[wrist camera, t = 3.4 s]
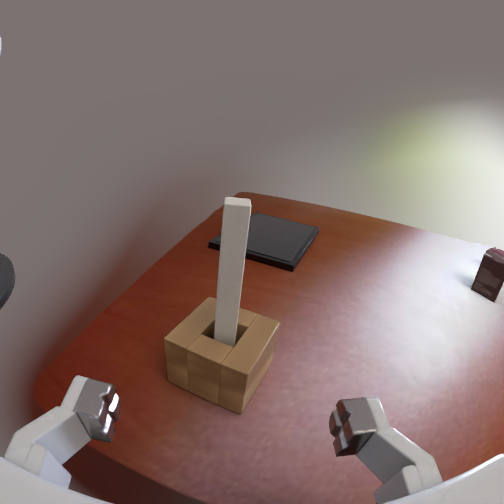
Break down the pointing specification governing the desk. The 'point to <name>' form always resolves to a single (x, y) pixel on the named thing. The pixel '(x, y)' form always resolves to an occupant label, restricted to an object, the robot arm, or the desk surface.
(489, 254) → the box
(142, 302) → the desk surface
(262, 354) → the pen stand
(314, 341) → the desk surface
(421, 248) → the desk surface
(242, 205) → the white square bar
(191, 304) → the desk surface
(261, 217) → the plate
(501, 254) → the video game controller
